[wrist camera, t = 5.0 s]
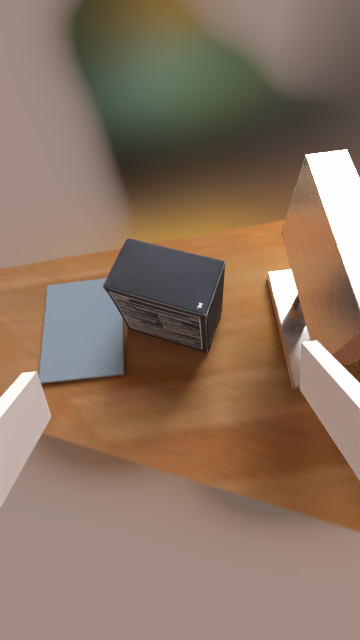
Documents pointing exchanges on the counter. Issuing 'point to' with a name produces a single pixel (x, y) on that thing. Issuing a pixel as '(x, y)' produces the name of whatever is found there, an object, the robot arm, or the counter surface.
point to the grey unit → (321, 263)
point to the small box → (168, 293)
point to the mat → (81, 333)
